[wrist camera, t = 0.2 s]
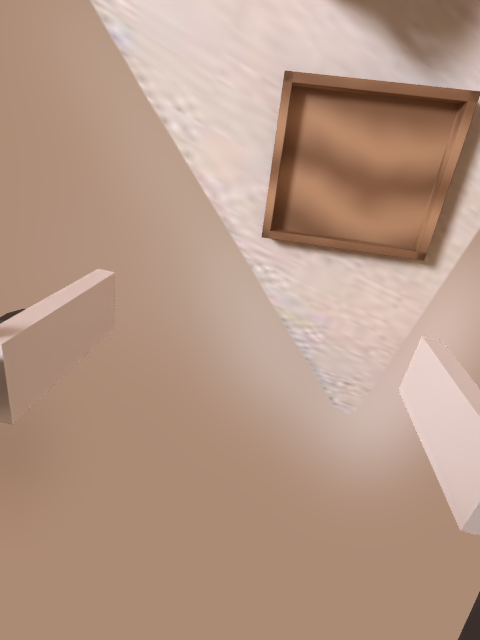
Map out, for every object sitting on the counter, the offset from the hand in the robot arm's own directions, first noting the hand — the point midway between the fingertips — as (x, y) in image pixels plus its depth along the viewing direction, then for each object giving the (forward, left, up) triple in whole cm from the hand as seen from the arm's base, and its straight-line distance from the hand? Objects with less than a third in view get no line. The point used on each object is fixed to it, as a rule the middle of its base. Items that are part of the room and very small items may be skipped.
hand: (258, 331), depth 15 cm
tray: (-6, +7, -28) cm, 29 cm away
